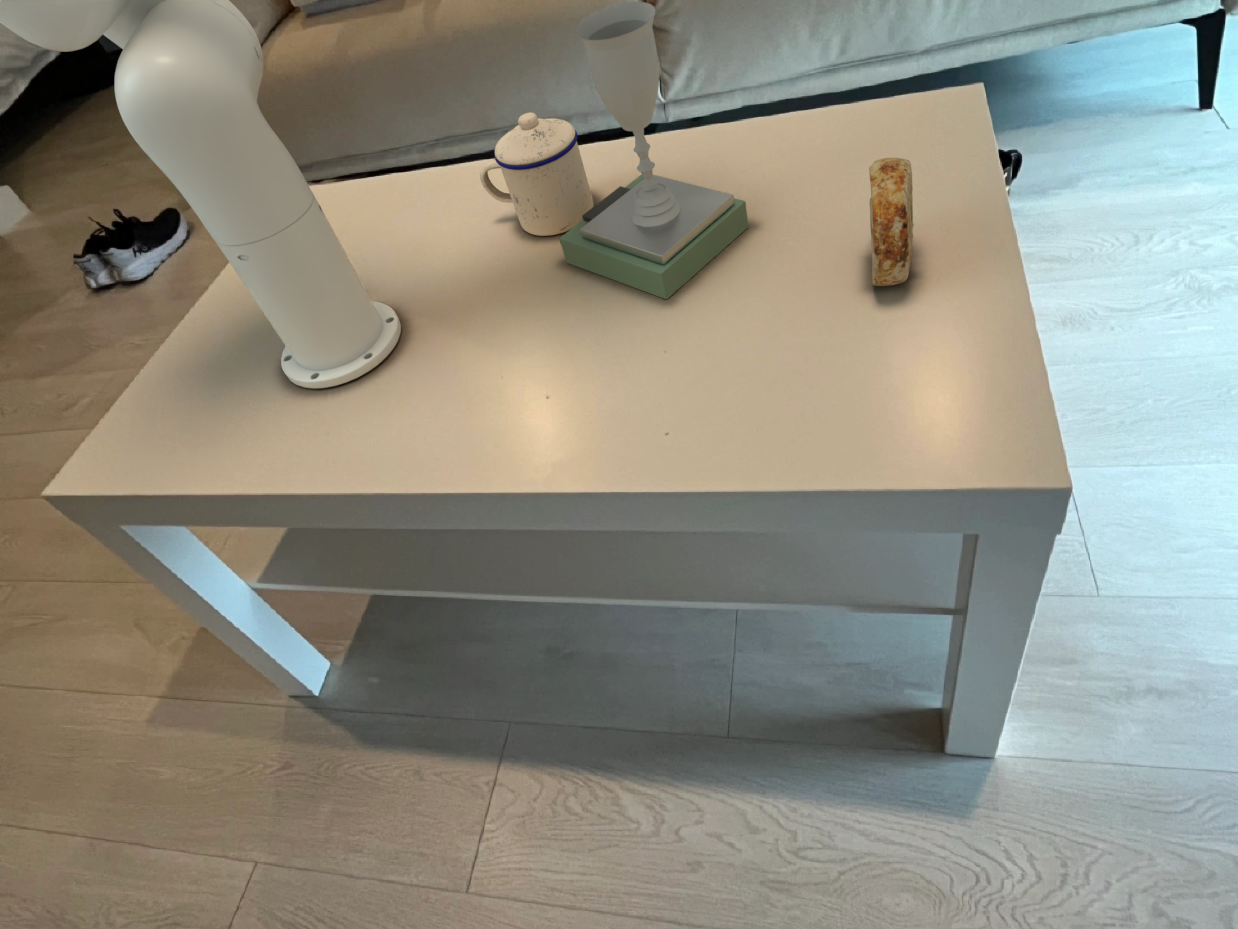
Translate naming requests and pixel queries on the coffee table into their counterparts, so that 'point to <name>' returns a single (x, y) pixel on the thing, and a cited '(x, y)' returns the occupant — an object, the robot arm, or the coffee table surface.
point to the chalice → (630, 91)
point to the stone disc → (891, 220)
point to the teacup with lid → (541, 175)
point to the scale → (645, 271)
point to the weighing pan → (662, 239)
